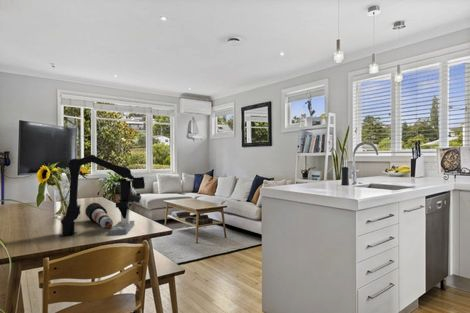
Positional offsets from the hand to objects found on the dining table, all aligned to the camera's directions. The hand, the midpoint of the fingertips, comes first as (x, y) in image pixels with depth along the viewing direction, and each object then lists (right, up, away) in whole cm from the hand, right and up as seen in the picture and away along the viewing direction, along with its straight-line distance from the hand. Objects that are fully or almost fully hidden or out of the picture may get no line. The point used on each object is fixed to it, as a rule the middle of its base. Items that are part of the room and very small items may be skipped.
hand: (125, 217), depth 169 cm
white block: (0, -4, 0) cm, 4 cm away
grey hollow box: (+1, -6, -6) cm, 9 cm away
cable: (-18, -7, +10) cm, 21 cm away
